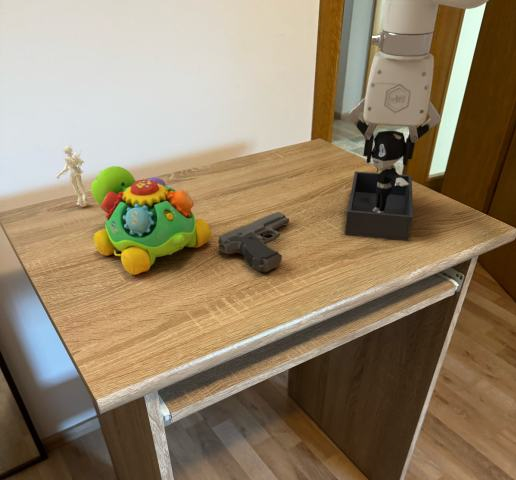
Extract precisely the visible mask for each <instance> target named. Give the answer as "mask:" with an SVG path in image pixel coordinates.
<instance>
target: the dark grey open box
mask: <svg viewBox="0 0 516 480" xmlns="http://www.w3.org/2000/svg"><path fill="white" fill-rule="evenodd" d="M399 176H400V177H401V178H403V179H404V180H405V181H406V182H407V183H408V184H409V185H406V186H400V185H397V186H395V183H396V181H394V180H392V181H391V182H390V184H391V186H392V191H391V192H390V194H389V195H388V197H387V201H386V206H385V210H384V213H377V212H378V211H377V212H374V211H373V209H374V208H375V207H376V195H377V194H376V186H377V183H378V176H377V172H368V171H359V170H358V171H356V170H355V171H354V174H353V179H352V183H351V189H350V194H349V199H348V206H347V211H346V219H345V227H344V235H346V236H357V237H369V238H378V239H390V240H397V241H398V240H399V241H409V237H410V235H411V230H412V225H413V224H412V223H413V220H414V205H413V204H414V203H413V201H414V200H413V175H412V174H411V175H410V174H399Z"/></svg>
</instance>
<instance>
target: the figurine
mask: <svg viewBox="0 0 516 480" xmlns="http://www.w3.org/2000/svg"><path fill="white" fill-rule="evenodd" d="M73 151H74V149H73V148H72V145H66V146H63V149H62V152H63V153H64V155H65V156H66V157H63V160H65V164H64V168H63V169H62V170H61V171H60V172H58V173H57V174H56V176H55V177H56V179H58V180H59V179H60V177H61V176H62V175H66V174H67V173H68V174H69V181H70V183H71V185H72V188H73V190H74V192H75V194H76V196H77V202H76V203H75V204H76V205H77V206H80V207H81V208H85V207H87V206H88V202H89V200H88V199H89V195H88V190H89V189H88V187H87V186H85V185H84V184H83V182H82V181H83V180H82V174H83V173H84V171H83V170H82V168H81V167H82V164H85V162H84V160H83V158H80V156H81V154H82V150H80V152H79V153H78V154H77V152H78V151H75V152H73Z"/></svg>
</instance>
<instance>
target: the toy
mask: <svg viewBox="0 0 516 480" xmlns="http://www.w3.org/2000/svg"><path fill="white" fill-rule="evenodd" d="M373 144H374V145H373V147H372V154H371V161H370V162H369V163H368V164H370V165H374V167H375V168H376V173H377V176H378V183H377V186H376V194H377V195H376V207H375V208H374V209H373V211H374V212H377V211H378V212H377V213H384V210H385V206H386V201H387V197H388V195H389V194H390V192H391V191H392V186H391V184H390V182H391V181H392V180H394V181H396V183H395V186H397V185H400V186H406V185H409V184H408V183H407V182H406V181H405V180H404V179H403V178H401V177H400V176H399V175H400V174H399V173H398V172H397V170H396V169H397V168H396V166H395V164H396V163H397V162H398V161H399V160H400V159H403V156H404V153H405V149H406V139H405V135H404V133H403V132H400V131H397V130H382V131H378V132H377V134H376V135H375V136H374V140H373ZM366 161H367V158H366V159H365V163H366Z"/></svg>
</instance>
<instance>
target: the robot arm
mask: <svg viewBox="0 0 516 480" xmlns="http://www.w3.org/2000/svg"><path fill="white" fill-rule="evenodd" d="M489 1H490V0H386V3H385V11H384V17H383V18H384V20H383V25H382V31H381V32H380V33H377V34H372V38H371V46H376V47H378V49H379V51H377V52H376V53H375V54H374V56H373V59H372V62H371V67H370V71H369V75H368V79H367V85H366V90H365V91H366V92H365V96H364V97H363V98H362V99H361V100H359V102H358V103H357V104H356V105H355V106H353V107H352V109H350V110H349V111H348V115H347V116H348V119H349V120H350V121H351V122H352V124H354V125H355V126H356V128H357V130H358V131H359V132H360V133H361V134H362V136H363V138H364V139H365V140H364V147H363V155H362V156H363V157H366V159H367V161H366V160H365V161H366V162H365V163H366V164H370V163H369V162H370V161H371V158H372V150H373V148H374V138H375V135H374V132H375V130H376V128H377V126H391V127H407V128H408V132H409V134H408V135H407V137H406V139H405V143H406V149H405V153H404V156H403V157H402V165H403V166H405V167H406V166H408V161H409V160H413V157H414V151H415V145H416V142H418V140H419V139H420V138H422V137H423V136H425V134H427V133H428V132H429V131H430V130H431V129H433V128H434V127H436V126H437V125H439V124H440V123H441V121H442V118H441V115H440V114H439V113H438V111H437V109H436V108H435V106H434V104H433V103H432V102H431V92H432V86H433V78H434V65H435V57H434V55H433V54H432V53H430V52H431V47H432V42H433V37H434V31H435V28H436V27H435V26H436V22H437V16H438V10H439V6H440V5H441V6H446V7H451V8H457V9H461V10H462V9H463V10H471V9H476V8H478V7H481V6H483V5H484V4H486V3H487V2H489ZM362 112H363V118H362V117H361V115H360V114H361V113H362ZM427 116H428V117H429V118H428V119H427V120H426V118H427Z"/></svg>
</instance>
